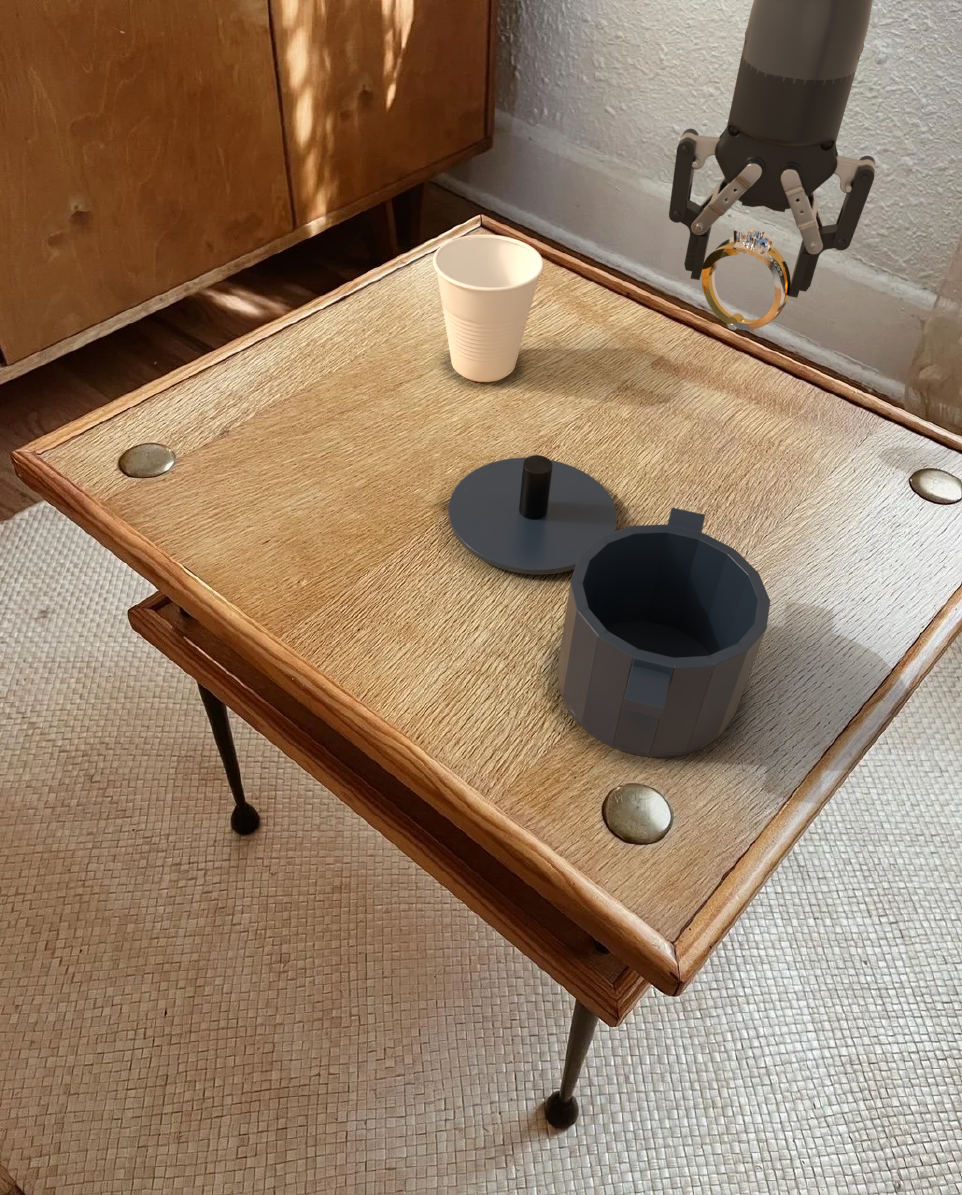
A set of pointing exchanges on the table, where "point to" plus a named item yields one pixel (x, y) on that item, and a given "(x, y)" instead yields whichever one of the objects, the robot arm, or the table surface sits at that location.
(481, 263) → the cup
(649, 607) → the pot
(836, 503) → the table surface
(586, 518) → the lid
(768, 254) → the ring
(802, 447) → the table surface
